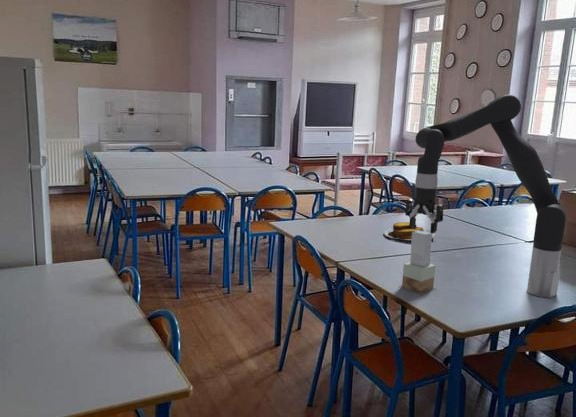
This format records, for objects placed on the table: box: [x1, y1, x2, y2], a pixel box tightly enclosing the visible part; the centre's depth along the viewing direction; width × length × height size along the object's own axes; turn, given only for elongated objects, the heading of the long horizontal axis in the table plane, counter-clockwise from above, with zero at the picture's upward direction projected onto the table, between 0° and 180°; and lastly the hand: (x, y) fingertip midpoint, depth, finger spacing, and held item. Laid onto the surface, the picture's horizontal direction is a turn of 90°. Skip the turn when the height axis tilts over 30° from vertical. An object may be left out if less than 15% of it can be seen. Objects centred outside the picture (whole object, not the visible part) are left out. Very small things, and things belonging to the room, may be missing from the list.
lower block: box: [401, 275, 435, 293], centre depth 196 cm, size 8×8×4 cm
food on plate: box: [383, 221, 436, 241], centre depth 269 cm, size 25×25×7 cm
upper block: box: [402, 261, 436, 281], centre depth 195 cm, size 8×8×4 cm
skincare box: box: [409, 230, 433, 267], centre depth 193 cm, size 6×4×12 cm
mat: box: [398, 285, 437, 296], centre depth 196 cm, size 10×10×1 cm
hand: (422, 230), depth 191 cm, fingers open, 8 cm apart
